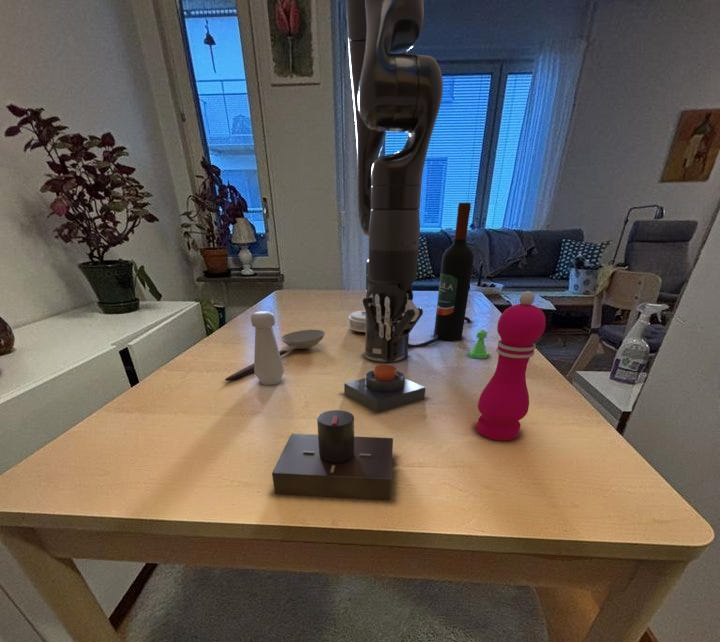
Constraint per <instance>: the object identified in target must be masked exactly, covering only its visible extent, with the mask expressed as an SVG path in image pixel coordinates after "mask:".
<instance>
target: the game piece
mask: <svg viewBox="0 0 720 642" xmlns="http://www.w3.org/2000/svg"><path fill="white" fill-rule="evenodd" d="M487 336H488V332H487V331H486V330H484V329H481V330H478V331H477V333H476V338H478V339H477V341H476V342H475V345H474V346H473V348H472V350H471V351H469V352H468V356H470V357H471V358H473V359H486V358H488V356H489V352H488V351H487V349H486V345H485V339H486V338H487Z"/></svg>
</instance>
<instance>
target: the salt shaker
mask: <svg viewBox="0 0 720 642" xmlns="http://www.w3.org/2000/svg"><path fill="white" fill-rule="evenodd" d="M250 322H251V326H252V327H253V328H254V331H255V332H254V357H253V358H254V360H253V361H254V362H253V364H254V371H253V372H254V375H255V376H256V378H257V379H258V380H259V382H260V383H261V384H262V385H267V386H274V385H277V384H280V383H281V381H282V378H283V375H284V373H285V367H284V364H283V361H282V360H283V359H282V356H280V353H279V351H280V350H279V347H278V346H279V345H278V343H277V339H276V336H275V332H274V329H273V327H274V326H275V325H276V319H275V315H274V314H273V313H272V312H270V311H266V310H260V311H255V312H253V313H252V314H251V315H250Z"/></svg>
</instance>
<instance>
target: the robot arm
mask: <svg viewBox="0 0 720 642" xmlns="http://www.w3.org/2000/svg"><path fill="white" fill-rule="evenodd" d="M424 7H425V6H424V0H345V9H346V10H345V12H346V29H347V43H348V44H347V45H348V58H349V71H350V79H351V90H352V101H353V113H354V122H355V123H354V125H355V139H356V168H357V169H356V170H357V171H356V172H357V173H356V174H357V209H358V210H357V211H358V219H359V225H360V228H361V231H362V233H363V234H364V235H365V236H367V237H368V259H367V260H366V263H365V264H366V265H365V297H364V298H363V299H362V305H363V307H364V311H365V310H366V321H365V332H364V333H365V334H364V357H365V359H366V360H368V361H373V362H377V363H393V362H399V361H402V360H403V359H404V358H405V357H408V353H409V348H419V347H427V346H428V345H431V344H434V343H436V342H437V341H439V340H438V338H439V336H438V335H436V336H435V338H434V337H433V338H432V339H429V340H427V341H424V342H421V343H418V344H411V343H410V342H409V341H410V333H411V332H412V330H413V329H414V327H415V326H416V324H417V323H418V321H419V320H420V319H421V317H422V316H423V314H424V310H423V308H422V307H417V306H416V305H415V303H414V302H413V301H414V300H413V299H414V292H413V284H414V282H415V281H416V279H417V278H418V277H417V275H418V261H419V246H420V235H421V220H420V215H421V214H420V213H421V212H420V211H421V210H420V207H421V193H422V184H423V183H422V181H423V172H424V167H425V163H426V158H427V154H428V149H429V146H430V142H431V138H432V135H433V133H434V132H433V131H434V128H435V124H436V122H437V118H438V114H439V111H440V108H441V105H442V100H443V91H444V82H443V74H442V71H441V67H440V65H439V63H438V62H437V60H436V59H435V58H434V57H432V56H431V55H425V54H411V53H410V49H412V48H414V46H415V45H416V43H418V41H419V39H420V37H421V35H422V31H423V28H424V20H425V13H424V12H425V10H424ZM388 132H392V133H393V132H394V133H395V132H396V133H407V139H406V142H405V144H404V146H403V148H402V149H401V150H400V151H397V152H393V153H391V154H386V155H383V156H381V151H382V148H383V144H384V142H385V138H386V135H387V133H388ZM464 321H466V322H467V323H468V324H469V323H472V321H471V318H469V317H468V316H465V319H464Z"/></svg>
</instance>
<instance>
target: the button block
mask: <svg viewBox="0 0 720 642" xmlns="http://www.w3.org/2000/svg"><path fill="white" fill-rule="evenodd" d="M343 387H344V388H343V389H344V391H343V392H344V395H345V396H347V397H348V398H350V399H351V400H353V401H355V402H357V403H359V405H361V406H363V407H365V408H367V409H369V410H371V411H372V412H374V413H375V414H377V413H381V412H384V411H385V412H386V411H388V410H391V409H395V408H398V407H401V406H405V405H408V404H411V403H415V402H419V401H421V400H424V399H425V398H426V397H425V396H426V386H424V385H421V384H419V383H417V382H415V381H413V380H410V379H408V378H406V376H405V374H404V373H403V372H400V371H398V370H396V379H393V380H378V379H375V378H374V370H370V371H368V372H366V373H365V374H364V378H361V379H357V380H352V381H348V382H344V383H343Z"/></svg>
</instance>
